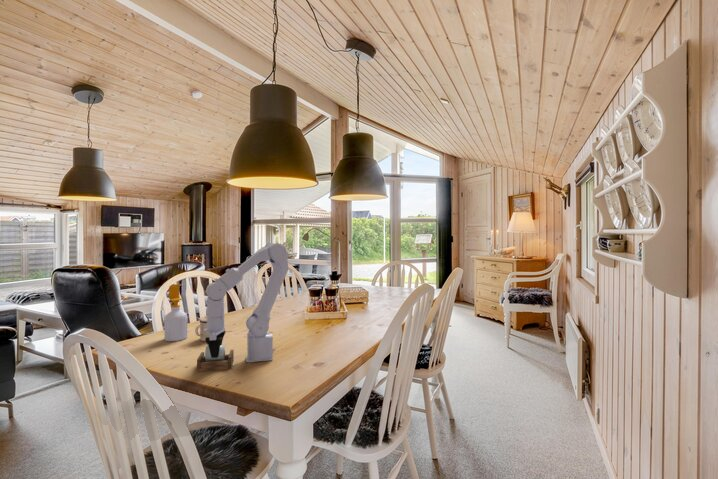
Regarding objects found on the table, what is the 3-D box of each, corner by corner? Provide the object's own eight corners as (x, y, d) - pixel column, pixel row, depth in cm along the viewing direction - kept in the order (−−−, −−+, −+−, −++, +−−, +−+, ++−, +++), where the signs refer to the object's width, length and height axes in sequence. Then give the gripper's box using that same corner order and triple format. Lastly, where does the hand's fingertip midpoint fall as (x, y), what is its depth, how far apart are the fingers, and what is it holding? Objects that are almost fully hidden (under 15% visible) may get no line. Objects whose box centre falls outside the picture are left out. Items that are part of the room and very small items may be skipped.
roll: (225, 355, 125) (225, 342, 125) (224, 361, 121) (223, 348, 120) (207, 357, 124) (207, 343, 123) (205, 363, 119) (204, 349, 118)
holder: (233, 360, 127) (233, 349, 127) (231, 368, 120) (231, 357, 120) (201, 363, 124) (201, 352, 124) (197, 371, 117) (196, 360, 117)
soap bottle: (167, 343, 148) (166, 286, 147) (162, 338, 155) (162, 283, 154) (189, 338, 154) (189, 284, 153) (184, 334, 160) (183, 281, 160)
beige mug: (212, 334, 160) (212, 309, 160) (226, 337, 156) (225, 311, 156) (189, 341, 150) (188, 314, 150) (202, 344, 145) (202, 317, 145)
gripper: (207, 312, 128) (207, 348, 128) (199, 322, 114) (199, 363, 114) (227, 311, 130) (227, 347, 130) (222, 320, 116) (222, 361, 116)
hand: (216, 354), depth 122 cm, fingers closed on roll, 5 cm apart
